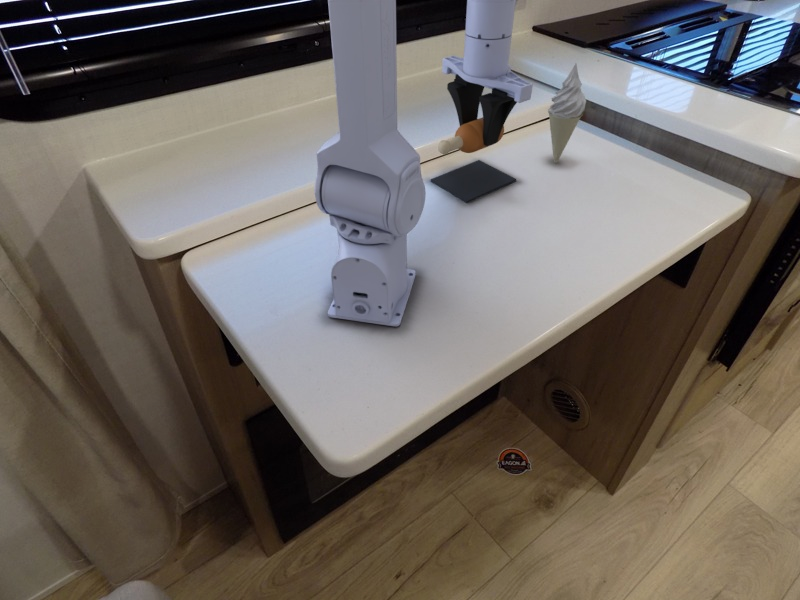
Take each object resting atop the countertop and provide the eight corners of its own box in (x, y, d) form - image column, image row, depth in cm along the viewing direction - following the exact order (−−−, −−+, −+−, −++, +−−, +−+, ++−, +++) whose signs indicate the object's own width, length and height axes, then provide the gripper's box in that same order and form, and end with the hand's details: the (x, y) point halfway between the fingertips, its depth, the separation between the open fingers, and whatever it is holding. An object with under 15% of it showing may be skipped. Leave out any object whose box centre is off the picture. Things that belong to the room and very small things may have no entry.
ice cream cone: (575, 170, 81) (598, 68, 71) (542, 170, 81) (560, 68, 72) (568, 155, 85) (589, 57, 75) (536, 155, 85) (553, 57, 75)
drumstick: (448, 168, 71) (450, 140, 68) (429, 157, 73) (430, 129, 70) (508, 144, 76) (511, 117, 73) (488, 135, 78) (491, 108, 75)
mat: (466, 203, 74) (467, 200, 74) (430, 181, 79) (430, 179, 79) (516, 181, 79) (516, 178, 79) (478, 162, 84) (479, 159, 84)
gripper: (556, 40, 63) (538, 147, 72) (471, 16, 71) (464, 115, 80) (514, 51, 59) (501, 163, 68) (431, 25, 68) (429, 127, 77)
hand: (479, 138), depth 74 cm, fingers closed on drumstick, 4 cm apart
